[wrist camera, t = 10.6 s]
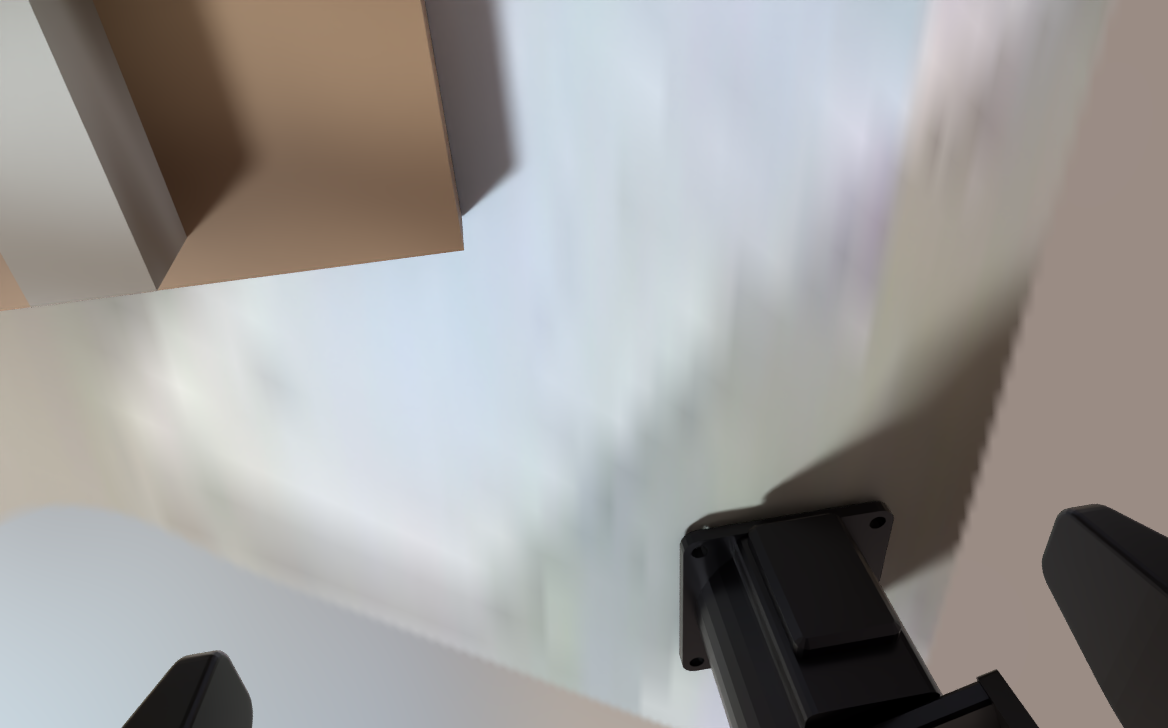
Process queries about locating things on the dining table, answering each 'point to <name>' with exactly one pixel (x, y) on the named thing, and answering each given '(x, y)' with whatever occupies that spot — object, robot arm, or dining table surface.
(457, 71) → the dining table surface
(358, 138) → the cleat board
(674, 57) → the dining table surface
